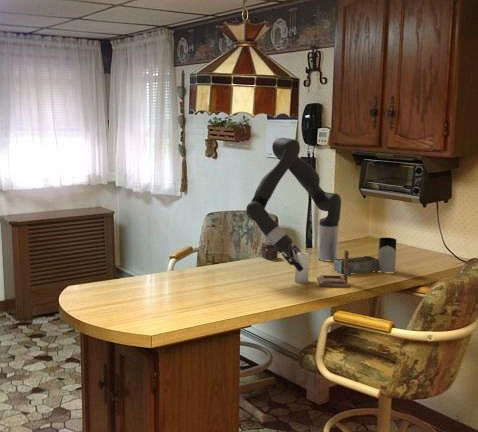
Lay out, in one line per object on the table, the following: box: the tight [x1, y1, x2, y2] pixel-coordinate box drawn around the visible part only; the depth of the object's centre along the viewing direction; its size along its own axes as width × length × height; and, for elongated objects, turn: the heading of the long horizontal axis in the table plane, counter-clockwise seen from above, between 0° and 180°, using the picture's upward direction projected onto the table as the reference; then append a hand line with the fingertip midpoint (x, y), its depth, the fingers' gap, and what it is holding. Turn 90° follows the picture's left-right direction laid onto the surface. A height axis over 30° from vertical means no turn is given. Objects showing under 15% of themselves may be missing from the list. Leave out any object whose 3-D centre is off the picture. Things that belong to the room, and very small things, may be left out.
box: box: [261, 241, 278, 260], centre depth 291 cm, size 6×6×7 cm
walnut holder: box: [316, 249, 350, 289], centre depth 246 cm, size 12×12×14 cm
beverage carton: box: [333, 255, 378, 275], centre depth 267 cm, size 8×19×7 cm, turn 108°
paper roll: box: [294, 252, 310, 284], centre depth 248 cm, size 6×6×12 cm
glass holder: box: [377, 237, 397, 272], centre depth 270 cm, size 9×14×15 cm, turn 166°
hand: (304, 268), depth 248 cm, fingers open, 8 cm apart
